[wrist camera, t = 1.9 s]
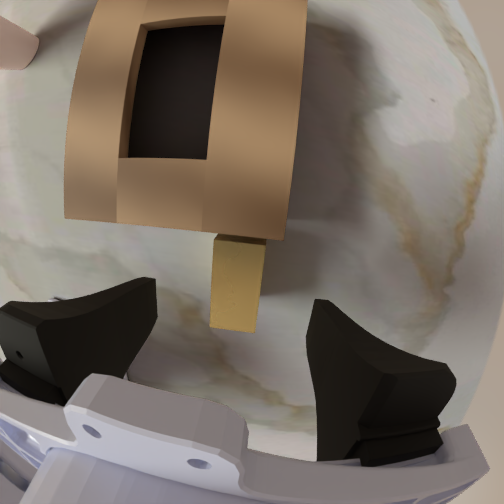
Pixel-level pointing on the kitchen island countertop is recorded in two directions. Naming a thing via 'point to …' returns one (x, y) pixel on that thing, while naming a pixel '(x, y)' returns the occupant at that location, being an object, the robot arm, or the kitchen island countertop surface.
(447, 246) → the kitchen island countertop surface
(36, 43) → the smoothie
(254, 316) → the block
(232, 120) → the brown rectangular hollow block
